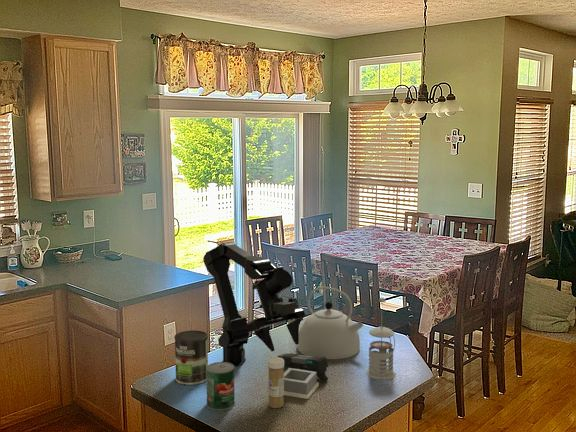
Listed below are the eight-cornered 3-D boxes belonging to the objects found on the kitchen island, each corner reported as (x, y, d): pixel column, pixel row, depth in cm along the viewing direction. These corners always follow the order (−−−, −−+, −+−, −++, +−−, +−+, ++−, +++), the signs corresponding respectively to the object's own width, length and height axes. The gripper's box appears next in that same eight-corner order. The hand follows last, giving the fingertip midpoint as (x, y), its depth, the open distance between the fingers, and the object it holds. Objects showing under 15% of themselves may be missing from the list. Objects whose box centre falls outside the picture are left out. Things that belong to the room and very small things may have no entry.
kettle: (376, 345, 213) (377, 285, 210) (348, 365, 194) (348, 299, 191) (316, 334, 226) (317, 277, 223) (285, 351, 207) (285, 289, 204)
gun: (322, 384, 178) (315, 351, 179) (282, 386, 192) (275, 356, 194) (332, 380, 181) (325, 348, 182) (292, 382, 195) (286, 353, 197)
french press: (359, 373, 186) (360, 298, 183) (379, 363, 195) (380, 291, 192) (385, 382, 180) (386, 303, 177) (405, 371, 188) (406, 296, 185)
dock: (275, 393, 172) (275, 379, 171) (288, 380, 181) (288, 367, 180) (307, 398, 168) (307, 384, 167) (318, 385, 177) (318, 371, 177)
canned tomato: (227, 412, 160) (226, 374, 158) (201, 408, 162) (200, 370, 161) (239, 400, 167) (238, 363, 166) (214, 396, 170) (214, 360, 168)
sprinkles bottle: (264, 405, 164) (264, 359, 162) (275, 400, 167) (275, 355, 166) (277, 410, 161) (276, 363, 159) (287, 404, 164) (287, 359, 163)
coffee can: (198, 387, 176) (197, 342, 175) (169, 382, 180) (168, 338, 178) (214, 374, 186) (213, 332, 184) (186, 370, 189) (185, 328, 188)
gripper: (258, 295, 166) (275, 347, 162) (307, 285, 178) (324, 334, 173) (239, 306, 174) (254, 357, 170) (287, 296, 186) (303, 343, 181)
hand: (285, 347), depth 173 cm, fingers open, 9 cm apart
